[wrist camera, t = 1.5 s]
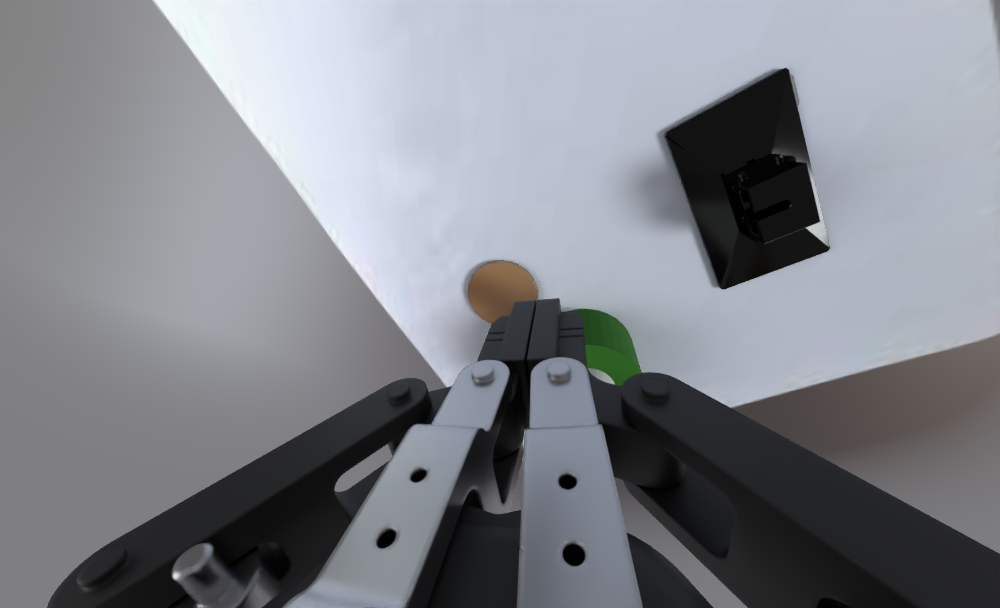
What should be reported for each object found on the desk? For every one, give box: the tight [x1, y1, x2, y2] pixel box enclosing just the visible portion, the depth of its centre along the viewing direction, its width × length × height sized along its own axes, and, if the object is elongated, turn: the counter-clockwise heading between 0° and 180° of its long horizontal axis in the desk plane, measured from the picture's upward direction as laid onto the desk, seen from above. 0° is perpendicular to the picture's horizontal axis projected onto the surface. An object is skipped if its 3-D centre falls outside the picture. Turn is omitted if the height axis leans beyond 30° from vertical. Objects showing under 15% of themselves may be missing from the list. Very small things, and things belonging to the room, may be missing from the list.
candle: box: [569, 309, 642, 386], centre depth 27 cm, size 8×8×10 cm
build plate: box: [665, 68, 830, 289], centre depth 22 cm, size 12×7×5 cm, turn 30°
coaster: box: [468, 261, 538, 324], centre depth 30 cm, size 6×6×1 cm
